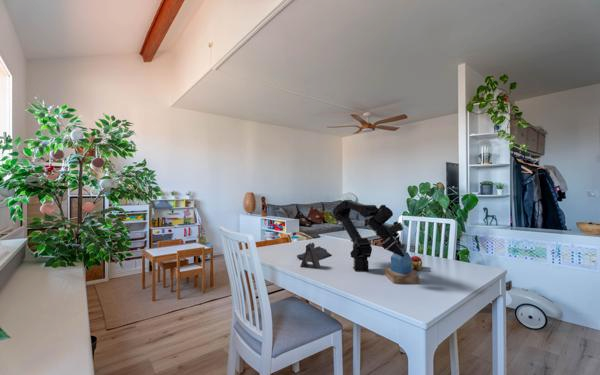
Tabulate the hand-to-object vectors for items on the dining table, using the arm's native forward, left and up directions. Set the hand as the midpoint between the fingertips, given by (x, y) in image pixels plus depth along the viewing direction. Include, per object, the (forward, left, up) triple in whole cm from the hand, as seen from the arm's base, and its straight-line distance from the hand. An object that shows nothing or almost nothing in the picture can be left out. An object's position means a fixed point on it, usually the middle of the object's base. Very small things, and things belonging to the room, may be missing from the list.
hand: (404, 254), depth 127 cm
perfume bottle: (-1, +1, -8) cm, 8 cm away
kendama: (+10, +14, -12) cm, 21 cm away
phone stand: (-41, +22, -12) cm, 48 cm away
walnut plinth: (-1, +1, -12) cm, 12 cm away
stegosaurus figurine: (-38, +42, -12) cm, 58 cm away
